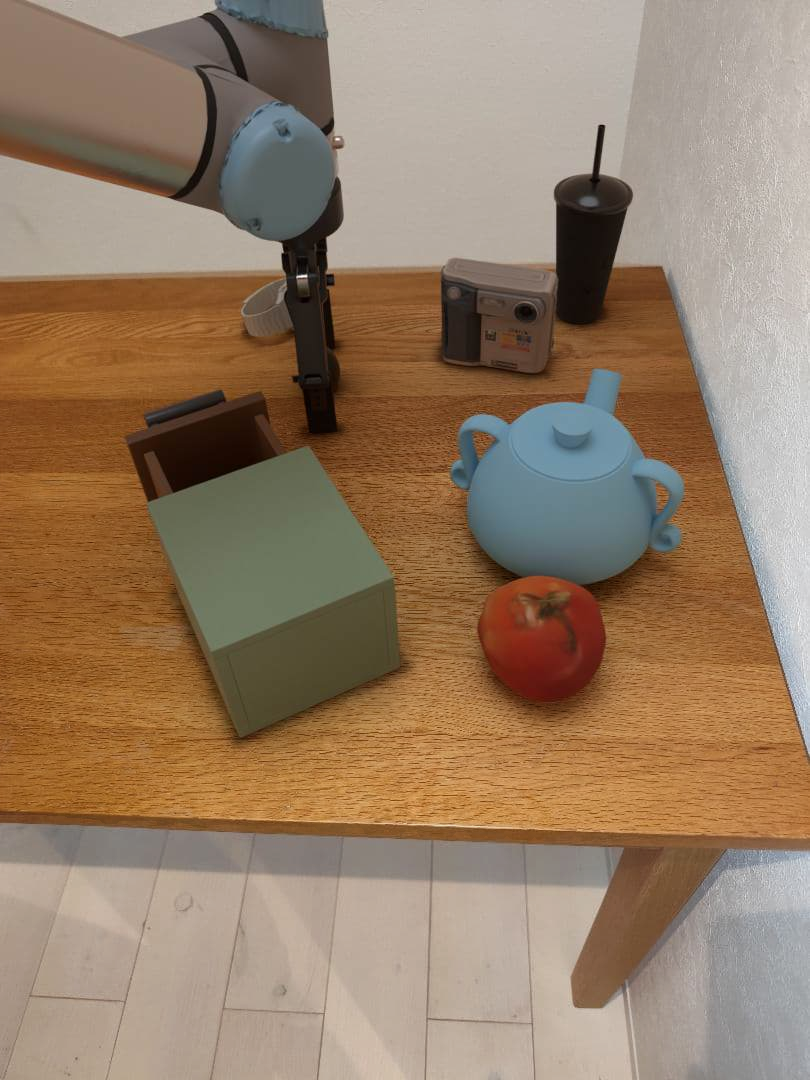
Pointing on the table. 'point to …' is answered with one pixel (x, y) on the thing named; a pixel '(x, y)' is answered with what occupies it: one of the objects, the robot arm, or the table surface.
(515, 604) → the tomato
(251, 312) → the wristwatch
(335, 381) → the egg
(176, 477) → the drawer
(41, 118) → the robot arm
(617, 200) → the drinking cup
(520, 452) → the teapot
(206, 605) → the cabinet
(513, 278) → the camera
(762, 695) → the table surface
